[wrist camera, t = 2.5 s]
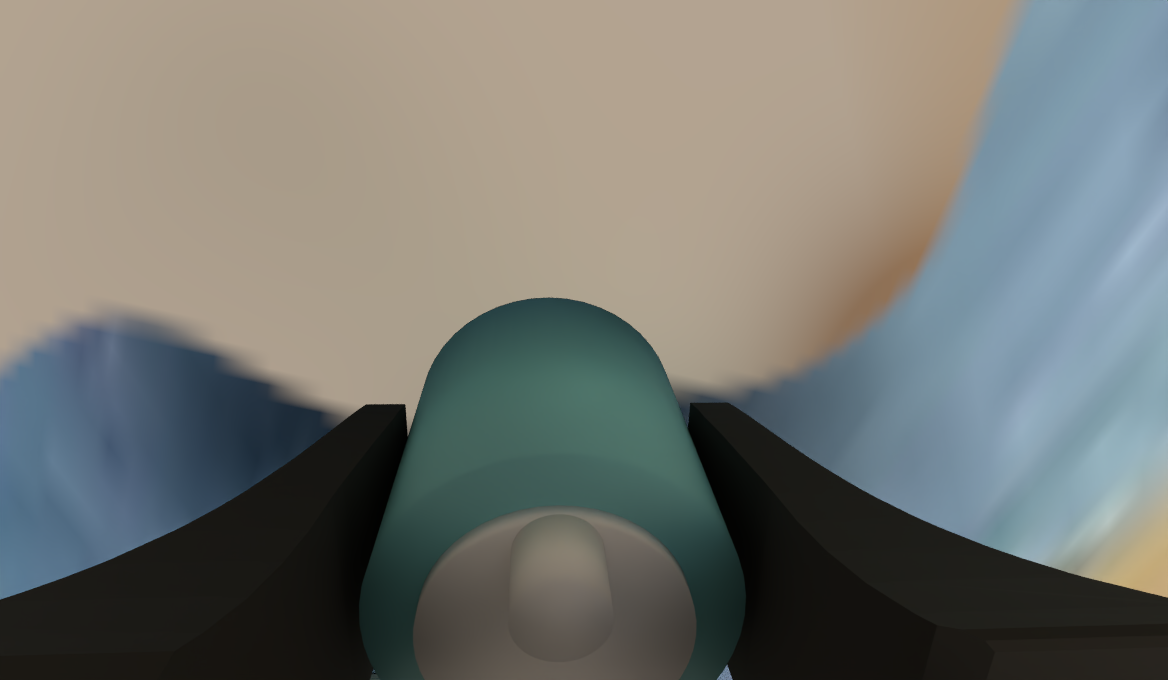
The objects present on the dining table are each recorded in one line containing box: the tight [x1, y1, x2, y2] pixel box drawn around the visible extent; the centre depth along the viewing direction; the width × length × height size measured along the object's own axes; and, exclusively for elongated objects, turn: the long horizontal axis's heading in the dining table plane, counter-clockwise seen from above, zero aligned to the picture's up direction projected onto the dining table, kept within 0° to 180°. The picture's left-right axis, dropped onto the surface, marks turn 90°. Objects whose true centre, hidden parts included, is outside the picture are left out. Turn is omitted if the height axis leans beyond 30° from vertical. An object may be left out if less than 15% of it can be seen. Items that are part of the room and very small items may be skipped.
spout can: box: [359, 298, 746, 680], centre depth 10 cm, size 4×4×6 cm
